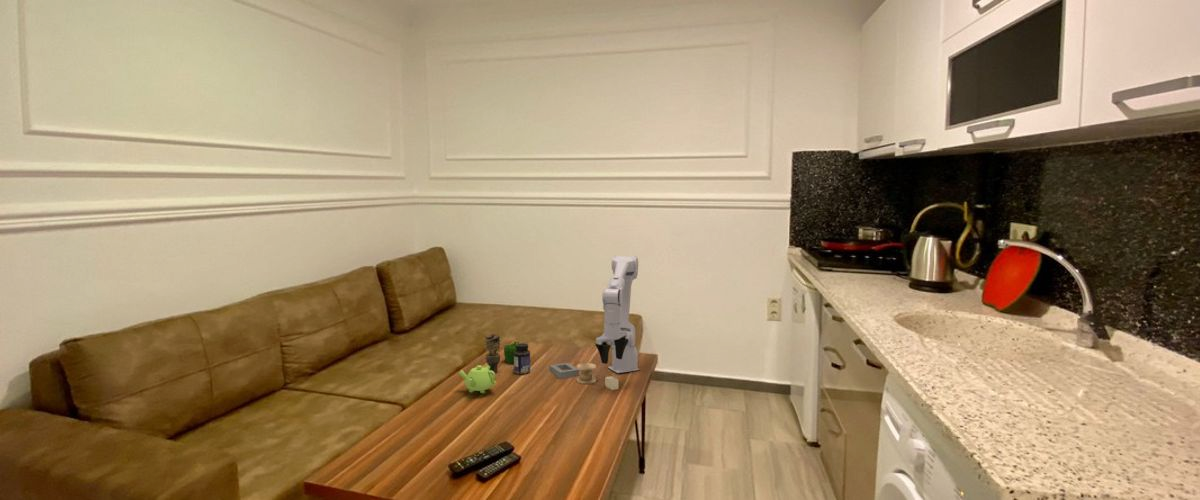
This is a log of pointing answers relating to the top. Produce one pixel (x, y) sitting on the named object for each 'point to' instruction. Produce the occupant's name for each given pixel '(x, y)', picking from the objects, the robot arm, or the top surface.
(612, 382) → the rectangular block
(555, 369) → the board with rectangular hole
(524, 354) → the pill bottle
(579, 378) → the bobbin
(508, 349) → the bell pepper
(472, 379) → the teapot
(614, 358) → the robot arm
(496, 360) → the dark carved statue
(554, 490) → the top surface
